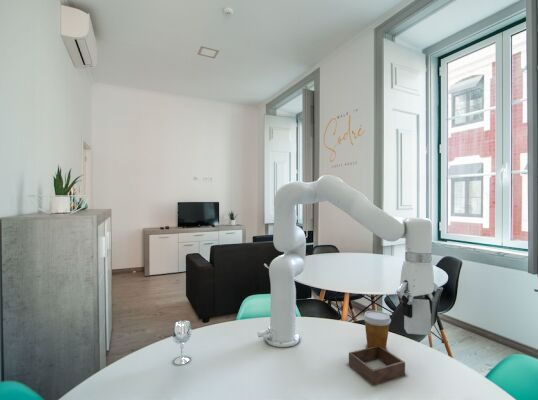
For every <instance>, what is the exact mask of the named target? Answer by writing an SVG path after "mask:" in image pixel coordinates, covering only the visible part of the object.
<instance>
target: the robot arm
mask: <svg viewBox="0 0 538 400" xmlns="http://www.w3.org/2000/svg"><path fill="white" fill-rule="evenodd" d="M321 202H329V203H330V204H332V205H333V206H335V207H337V209H340V210H341V211H342V212H344V213H346V214H347V215H348V216H349V217H350V218H351V219H353V220H355V222H357V223H359V224H360V225H361V226H362V227H363V228H365V229H366V230H368V231H369V232H371V233H372V234H374V235H376V236H377V237H379V238H380V239H382V240H384V241H386V242H396V241H398V240H401V239H404V240H405V245H404V248H405V249H404V250H405V251H404V253H405V254H404V261H403V263H402V266H401V270H400V271H401V272H400V281H399V282H400V283H399V284H400V285H399V287H398V288H397V289H396V292H395V293H396V294H397V296H398V298H399V299H400V302H401V303H402V315H403V316H404V315H405V316H407V317H409V318H412V309H413V306H412V304H411V302H412V300H413V299H414V298H415V297H420V296H423V297H422V300H429V304H430V312H431V315H432V314H433V301H434V300H435V298H434V297H435V295H436V293H437V290H438V287H439V286H438V285H437V283H435V276H434V275H435V274H434V266H433V261H432V258H433V257H432V256H433V255H432V254H433V222H432V220H431V219H430V218H427V217H402V216H397V215H391V214H389V213H388V212H386V211H384V210H383V209H381V208H379V207H378V206H377V205H376V204H374V203H373V202H371V201H370V199H368V197H367V196H366V195H365V194H363V192H361V191H359V190H357V189H356V188H354V187H352V186H350V185H349V184H348V183H346V182H344V181H343V179H342V178H341V177H338V176H336V175H332V174H323V175H321V176H320V177H319V178H318V179H317V180H314V181H310V182H306V181H301V180H291V181H287V182H285V183H284V184H282V185H281V186H280V187H279V188H278V190H277V191H276V193H275V195H274V200H273V232H272V235H273V237H272V238H273V239H272V240H273V241H272V243H273V246H274V249H276V250H277V251H278V252H281V253H283V254H281V255H278V256H277V257H275V258H274V259H272V260H271V262H270V264H269V267H268V275H269V282H270V283H269V284H270V313H269V314H270V315H269V326H267V329H265V330H260V331H257V334H256V335H257V338H263V340H265V342H267V344H269V345H270V346H274V347H277V348H289V347H293V346H295V345H296V344H298V343H299V342H300V334H298V333H297V332H296V316H297V313H296V311H297V288H296V283H295V278H296V277H297V276H299V275H301V274H302V273H303V272H304V269H305V267H306V252H307V251H306V250H307V238H306V234H305V231H304V230H303V228H301V227H300V226H298V225H297V211H296V206H297V205H312V204H317V203H321Z"/></svg>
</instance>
